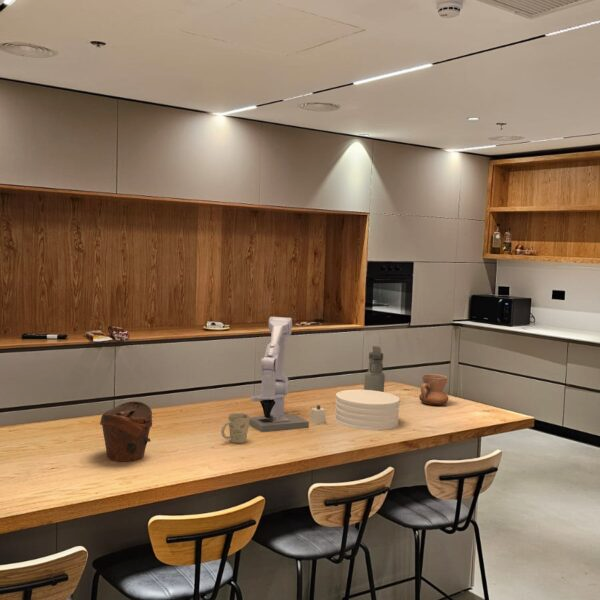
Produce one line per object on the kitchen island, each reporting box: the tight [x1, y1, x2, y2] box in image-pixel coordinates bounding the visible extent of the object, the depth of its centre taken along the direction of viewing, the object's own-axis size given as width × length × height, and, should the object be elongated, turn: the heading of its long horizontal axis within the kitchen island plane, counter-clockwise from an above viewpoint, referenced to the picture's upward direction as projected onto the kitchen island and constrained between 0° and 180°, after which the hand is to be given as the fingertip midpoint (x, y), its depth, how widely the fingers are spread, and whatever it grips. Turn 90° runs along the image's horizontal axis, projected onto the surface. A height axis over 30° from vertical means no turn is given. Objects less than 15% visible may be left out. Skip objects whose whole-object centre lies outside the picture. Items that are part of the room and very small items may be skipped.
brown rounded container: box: [99, 400, 153, 462], centre depth 246 cm, size 18×20×18 cm
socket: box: [249, 413, 310, 433], centre depth 298 cm, size 14×22×2 cm, turn 119°
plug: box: [310, 404, 327, 425], centre depth 306 cm, size 4×5×8 cm
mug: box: [220, 412, 251, 444], centre depth 271 cm, size 8×13×10 cm, turn 137°
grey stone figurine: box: [363, 345, 386, 392], centre depth 347 cm, size 10×10×28 cm
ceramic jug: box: [418, 373, 449, 406], centre depth 354 cm, size 18×14×14 cm
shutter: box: [264, 414, 290, 423], centre depth 297 cm, size 8×8×2 cm
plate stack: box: [334, 389, 401, 431], centre depth 312 cm, size 28×28×12 cm
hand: (266, 417), depth 295 cm, fingers closed
